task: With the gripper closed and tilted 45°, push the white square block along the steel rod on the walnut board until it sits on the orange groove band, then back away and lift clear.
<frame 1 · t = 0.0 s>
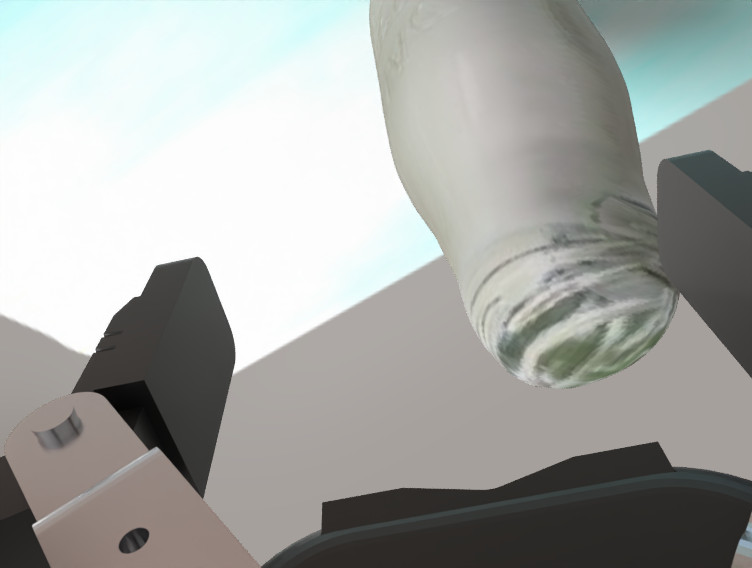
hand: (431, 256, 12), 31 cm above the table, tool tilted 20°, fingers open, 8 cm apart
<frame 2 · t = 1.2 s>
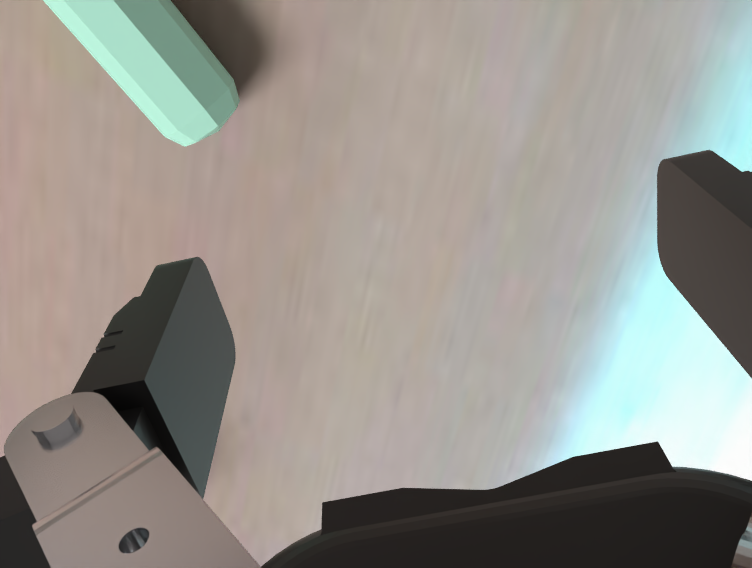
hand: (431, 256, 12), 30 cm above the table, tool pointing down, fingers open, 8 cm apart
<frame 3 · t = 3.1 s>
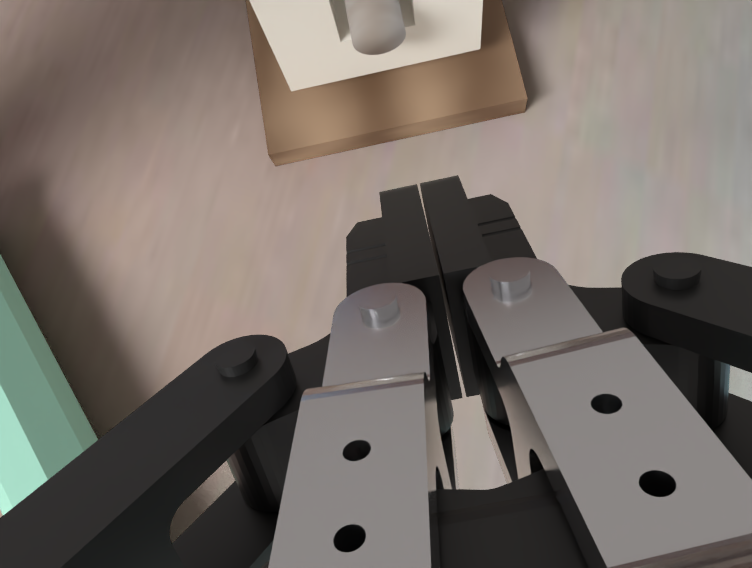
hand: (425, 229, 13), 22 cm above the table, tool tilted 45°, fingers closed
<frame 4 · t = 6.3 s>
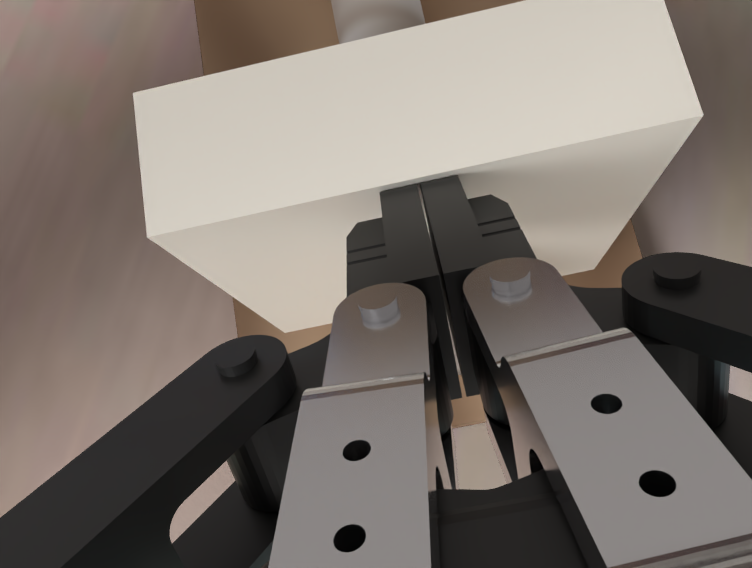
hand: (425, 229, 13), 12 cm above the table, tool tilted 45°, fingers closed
white square block: (417, 201, 17), point 8 cm above the table, slide at 1.4 cm, touching gripper
rod rig: (402, 142, 26), on the table
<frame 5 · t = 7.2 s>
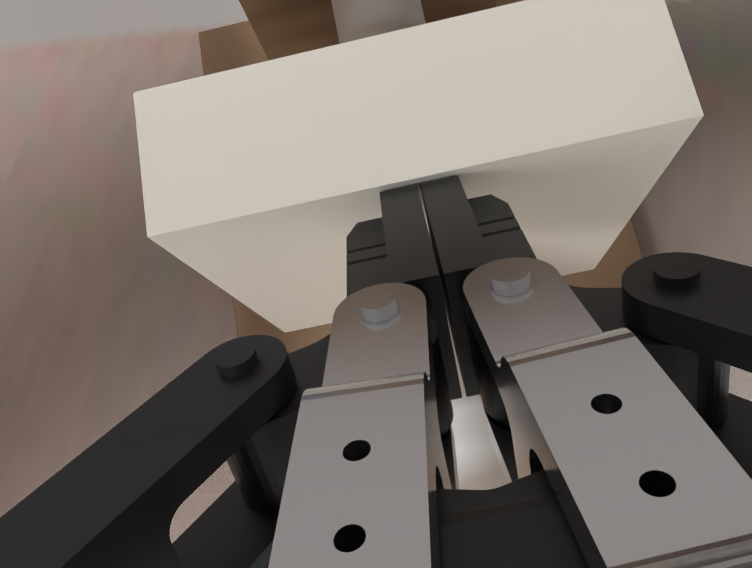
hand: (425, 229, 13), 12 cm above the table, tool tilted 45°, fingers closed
white square block: (418, 201, 17), point 8 cm above the table, slide at 6.5 cm, touching gripper
rod rig: (428, 268, 25), on the table
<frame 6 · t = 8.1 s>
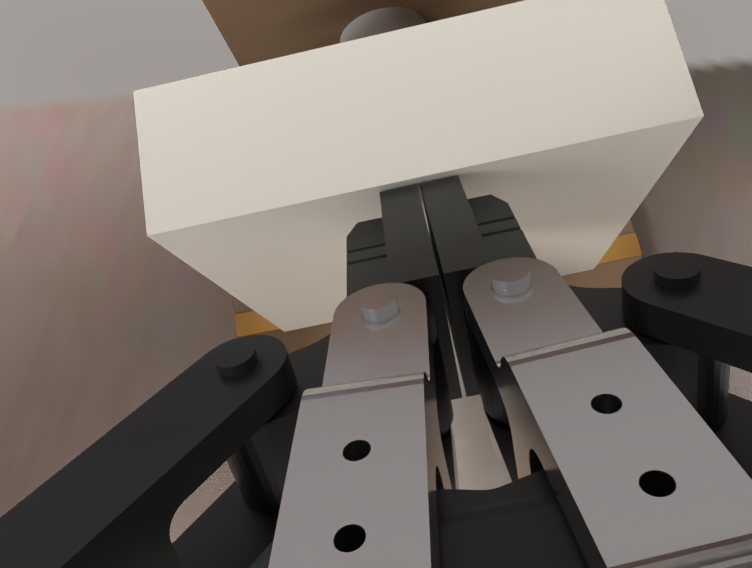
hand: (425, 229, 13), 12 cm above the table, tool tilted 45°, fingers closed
white square block: (418, 201, 17), point 8 cm above the table, slide at 9.6 cm, touching gripper
rod rig: (445, 349, 24), on the table
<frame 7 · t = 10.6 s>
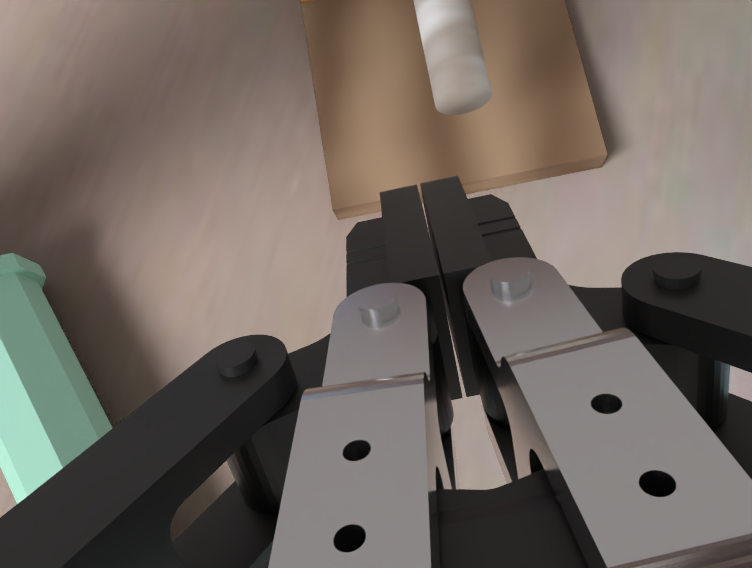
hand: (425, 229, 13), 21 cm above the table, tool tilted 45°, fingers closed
rod rig: (430, 16, 39), on the table
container: (34, 537, 32), point 3 cm above the table
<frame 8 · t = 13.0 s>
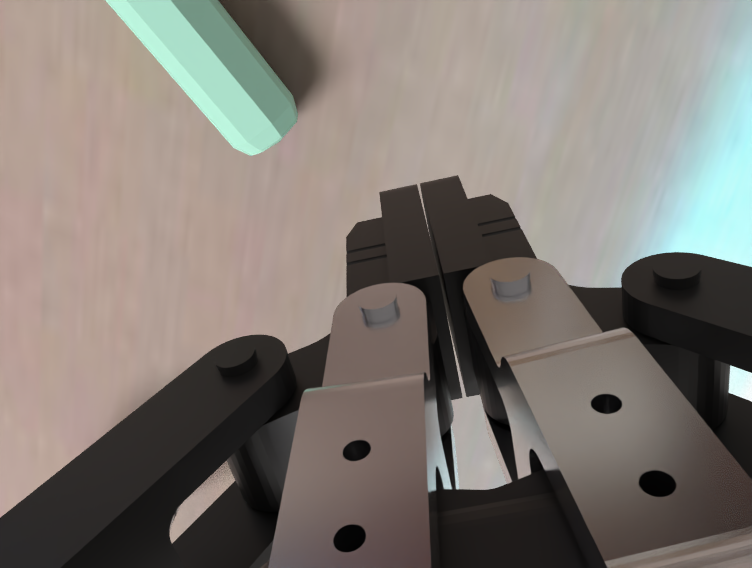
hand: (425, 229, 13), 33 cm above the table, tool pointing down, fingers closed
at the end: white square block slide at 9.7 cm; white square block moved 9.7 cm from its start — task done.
